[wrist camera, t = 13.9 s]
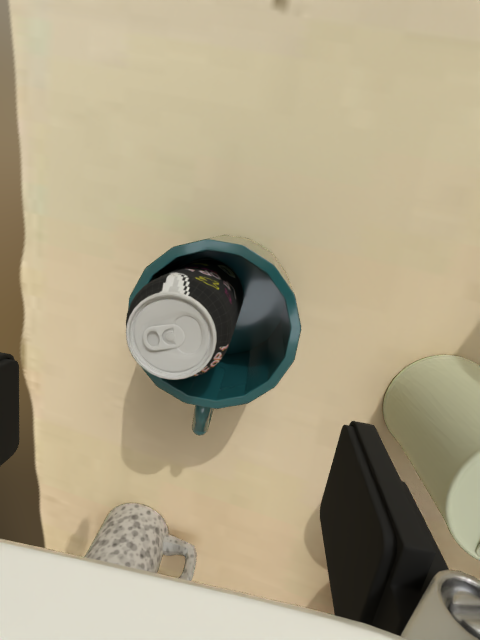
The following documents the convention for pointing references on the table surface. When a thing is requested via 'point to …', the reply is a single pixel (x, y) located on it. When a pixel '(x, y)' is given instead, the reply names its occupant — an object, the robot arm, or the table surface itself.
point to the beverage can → (184, 319)
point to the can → (442, 437)
